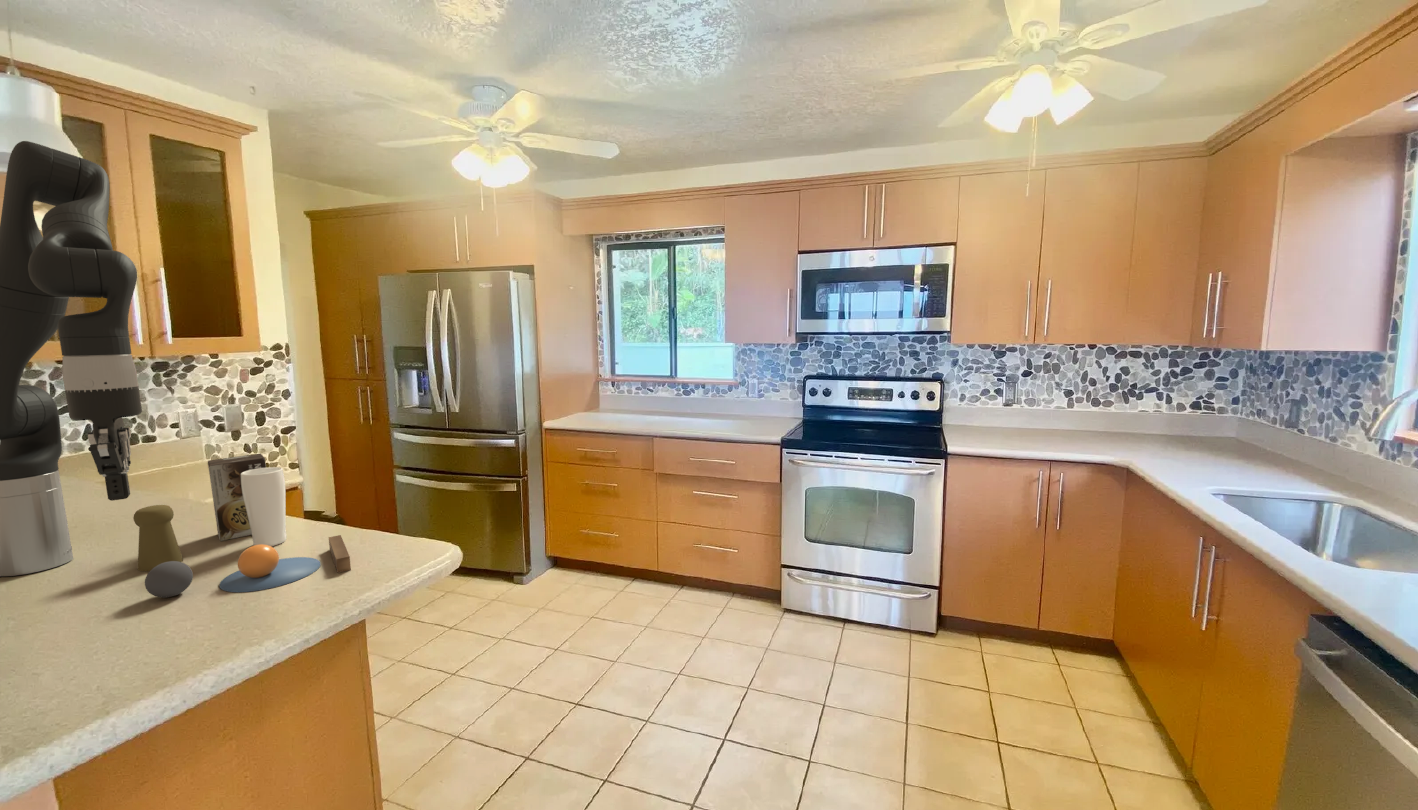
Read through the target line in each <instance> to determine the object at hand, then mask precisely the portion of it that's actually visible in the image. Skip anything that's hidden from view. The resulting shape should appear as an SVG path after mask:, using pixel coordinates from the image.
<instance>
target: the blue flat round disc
mask: <svg viewBox="0 0 1418 810" xmlns="http://www.w3.org/2000/svg"><path fill="white" fill-rule="evenodd" d="M320 567H321V561H320V560H319V559H317V558H314V557H309V556H307V557H305V556H298V557H297V556H296V557H295V556H294V557H286V558H279V562H278V565H277V567H276V568H275V569H274V570H273V571H272V572H271V573H270V574H268V575H266V576H263V577H259V578H250V577H247V576H245V575H243V574H242V573H241V572H240V571H239V570H237V571H235V572H234V571H233V573H230V574H229V575H227V576H225V577H224V578H223V579H222V580H221V581H220V582H219V589H220V590H222V591H225V592H228V593H229V592H230V593H249V592H258V591H264V590H269V589H273V588H278V587H282V586H285V585H288V584H291V583H294V582H297V581H300V580H302V579H304V578H306V577H309V576H310V575H313V572H314V573H315V572H316V571H318V570H319V568H320ZM317 569H318V570H317Z"/></svg>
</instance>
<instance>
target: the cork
mask: <svg viewBox="0 0 1418 810" xmlns="http://www.w3.org/2000/svg"><path fill="white" fill-rule="evenodd" d="M174 515H175V514H174V510H173V508H172V507H171V506H170V505H167V504H155V505H148V506H145V507H142V508H139V509H138V510H136V511H135V512H134V513H133V517H132V518H133V521H134V524H135V525H136V526H137V527H138V529H139V530H138V548H137V549H138V550H137V552H138V554H137V571H139V572H150V571H151V570H152V569H153V568H154V567H156V566H157V565H159V564H161V563H164V562H169V561H178V562H182V563H183V561H184V558H183V556H182V551H181V550H180V549H181V548H180V546H179V544H178V540H177V537H176V534H175V531H174V529H173V525H172V523H171V522H172V520H173V519H174Z"/></svg>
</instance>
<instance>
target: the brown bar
mask: <svg viewBox="0 0 1418 810" xmlns="http://www.w3.org/2000/svg"><path fill="white" fill-rule="evenodd" d="M328 545H329V552H330V554H331V557H332V560H333V563H334V567H335V569H337V570H336V571H337V573H338V574H339V573H344V572H347V571H351V570H352V569H351V568H352V567H351V559H350V556H351V555H350V554H349V551H348V549H347V546H346V544H345V542H344V540H343V537H342V535H341V534H339V535H334V536H328Z"/></svg>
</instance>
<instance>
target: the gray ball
mask: <svg viewBox="0 0 1418 810" xmlns="http://www.w3.org/2000/svg"><path fill="white" fill-rule="evenodd" d="M193 578H194V573H193V570H192V569H191V567H190V566H189V565H188V564H186V563H184V562H183V561H182V562H178V561H169V562H164V563H161V564H159V565H157V566H156V567H154V568H153V569H152V570H151V571H148V573H147V574H146V577H145V579H144V587H145V589H146V591H147V592H148V593H149V594H150V595H151V596H154V597H155V598H163V599H164V598H171V597H175V596H178V595H179V594H181V593H183V592H184V591H186V590H187V589H188V588H189V587H190V585H191V583H192V582H193Z"/></svg>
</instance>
